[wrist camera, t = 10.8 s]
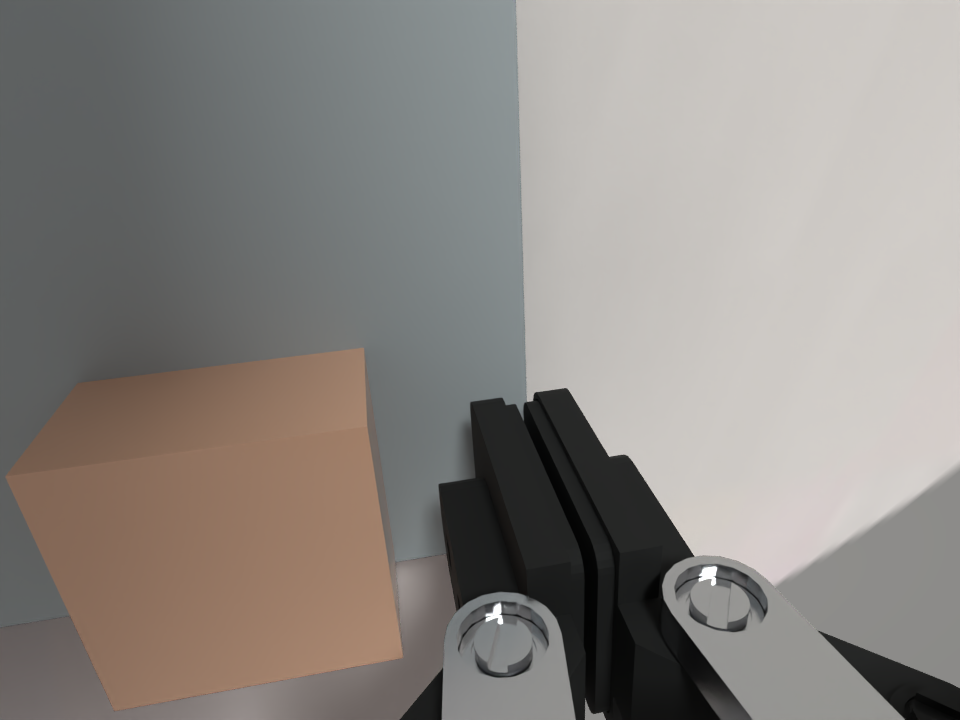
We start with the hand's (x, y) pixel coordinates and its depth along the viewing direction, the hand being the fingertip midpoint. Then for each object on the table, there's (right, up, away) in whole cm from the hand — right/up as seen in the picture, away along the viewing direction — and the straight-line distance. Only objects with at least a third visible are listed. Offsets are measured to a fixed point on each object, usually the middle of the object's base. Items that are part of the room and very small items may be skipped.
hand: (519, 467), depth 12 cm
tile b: (-5, 0, 0) cm, 5 cm away
